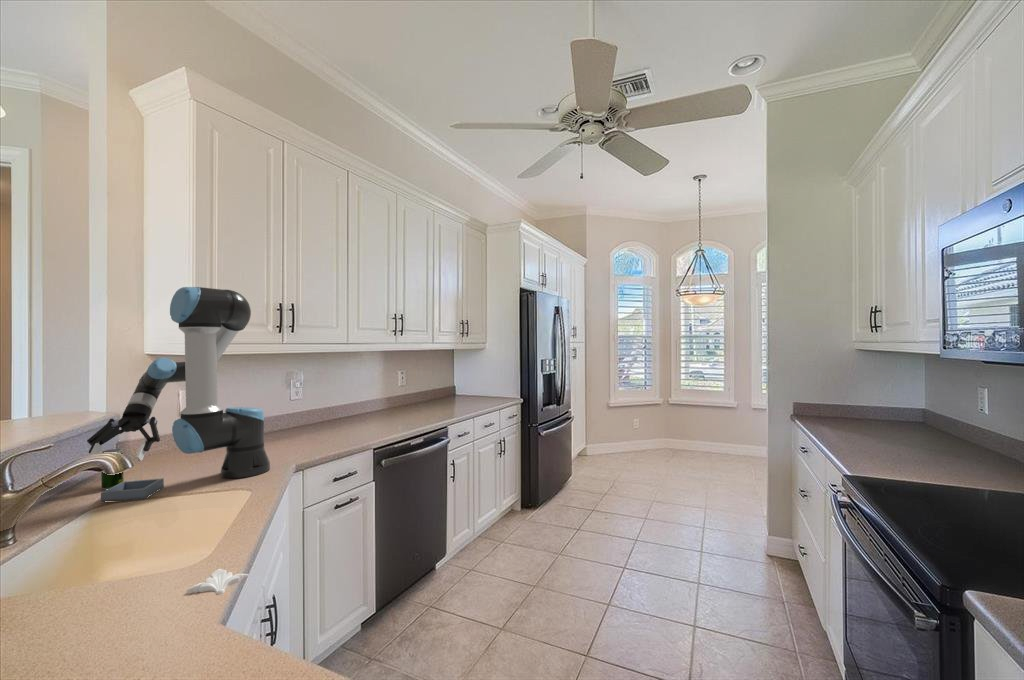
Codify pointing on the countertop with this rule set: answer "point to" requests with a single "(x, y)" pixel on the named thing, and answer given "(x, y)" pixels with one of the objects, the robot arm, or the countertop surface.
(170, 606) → the countertop surface
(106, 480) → the beer can
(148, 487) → the tray
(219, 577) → the acanthus leaf ornament
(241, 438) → the robot arm
